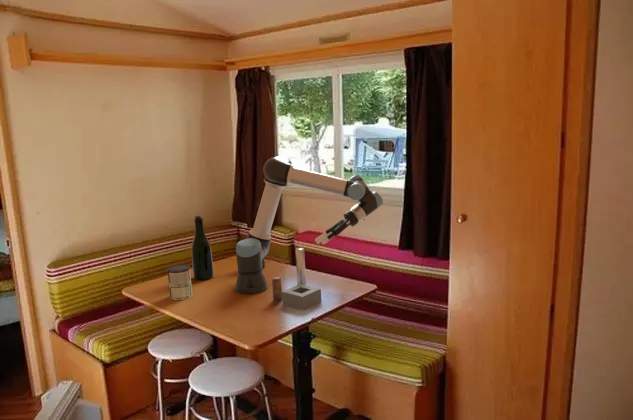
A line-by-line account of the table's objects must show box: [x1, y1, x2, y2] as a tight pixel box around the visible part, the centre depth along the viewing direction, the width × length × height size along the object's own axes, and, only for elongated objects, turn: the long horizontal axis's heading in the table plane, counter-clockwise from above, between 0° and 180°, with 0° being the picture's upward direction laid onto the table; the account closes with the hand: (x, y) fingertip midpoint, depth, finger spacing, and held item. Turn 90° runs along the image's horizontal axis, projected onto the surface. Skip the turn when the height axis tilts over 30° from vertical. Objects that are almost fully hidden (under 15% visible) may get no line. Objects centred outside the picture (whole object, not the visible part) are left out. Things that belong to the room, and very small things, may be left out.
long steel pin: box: [294, 247, 307, 286], centre depth 234 cm, size 4×4×20 cm
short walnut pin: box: [271, 276, 283, 303], centre depth 223 cm, size 4×4×10 cm
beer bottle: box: [191, 215, 215, 281], centre depth 259 cm, size 10×10×33 cm
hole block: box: [282, 284, 322, 311], centre depth 217 cm, size 12×12×6 cm
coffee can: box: [166, 263, 194, 301], centre depth 233 cm, size 10×10×14 cm
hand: (318, 242), depth 234 cm, fingers open, 13 cm apart
